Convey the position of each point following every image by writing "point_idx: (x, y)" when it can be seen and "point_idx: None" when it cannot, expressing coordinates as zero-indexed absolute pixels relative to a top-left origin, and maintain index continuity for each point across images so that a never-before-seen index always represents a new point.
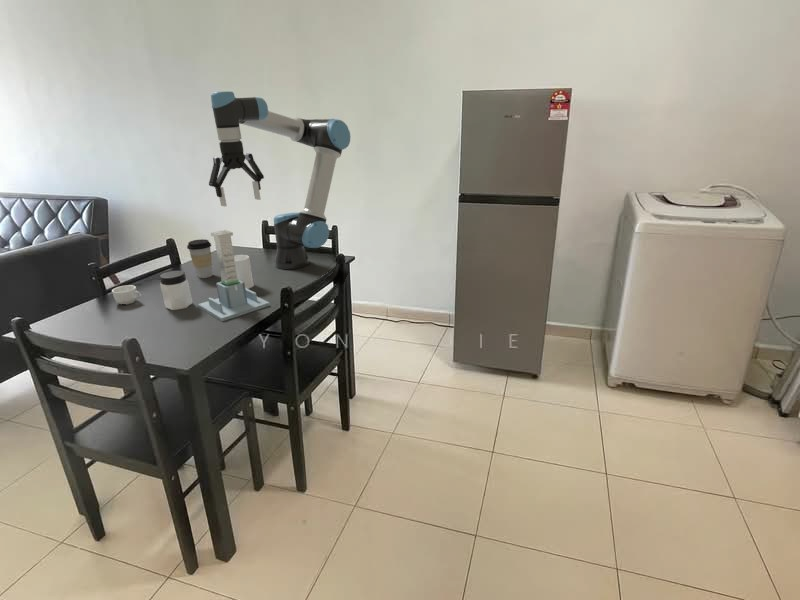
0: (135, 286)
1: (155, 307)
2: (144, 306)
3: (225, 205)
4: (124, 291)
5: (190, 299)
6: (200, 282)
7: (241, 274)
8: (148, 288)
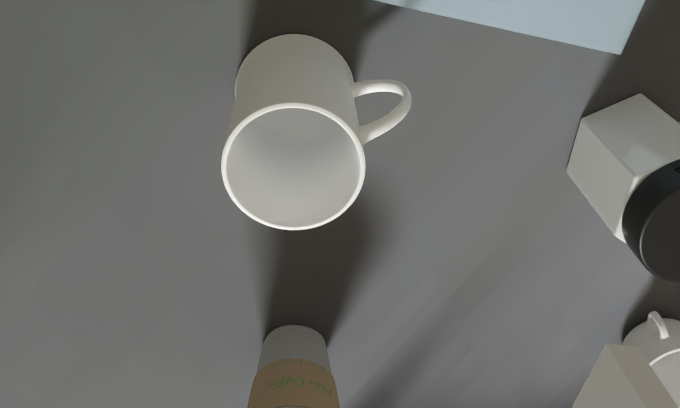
0: None
1: None
2: None
3: (628, 357)
4: None
5: (601, 122)
6: (363, 300)
7: (331, 79)
8: (509, 395)
